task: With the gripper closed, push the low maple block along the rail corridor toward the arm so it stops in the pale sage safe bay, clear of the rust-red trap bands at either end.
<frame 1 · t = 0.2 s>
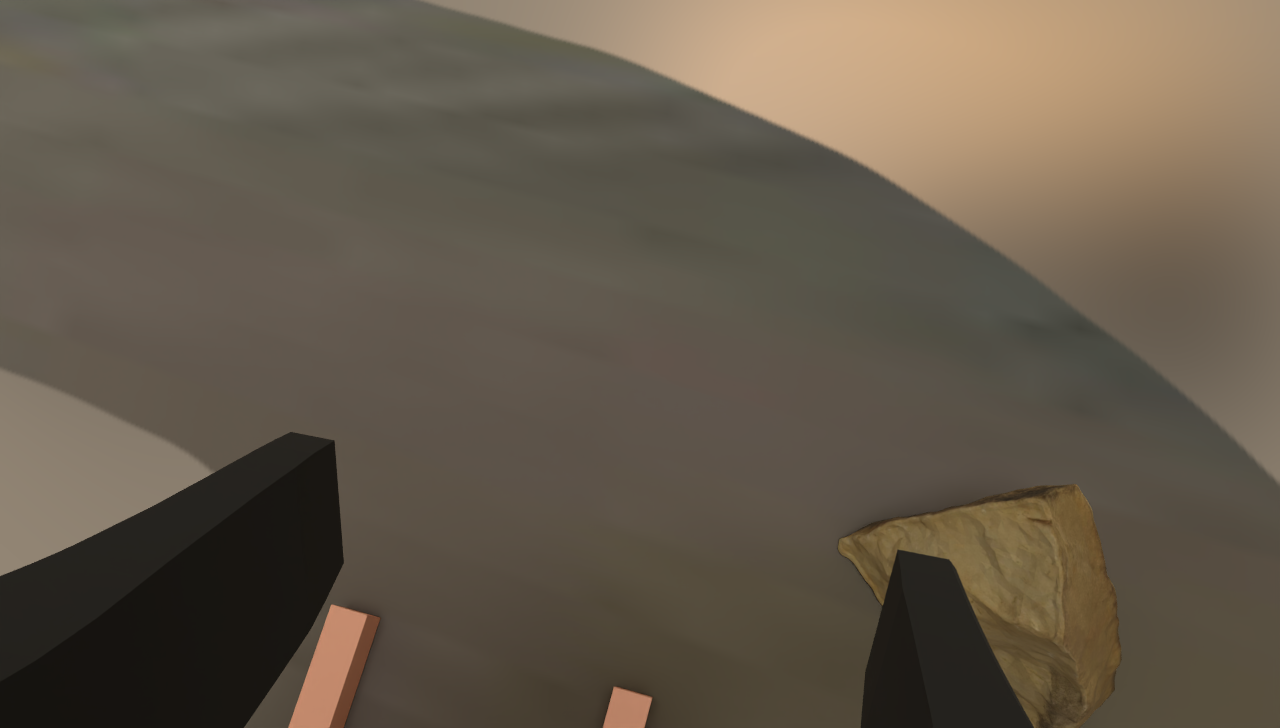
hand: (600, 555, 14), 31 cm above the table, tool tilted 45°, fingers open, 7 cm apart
rock: (966, 627, 43), on the table
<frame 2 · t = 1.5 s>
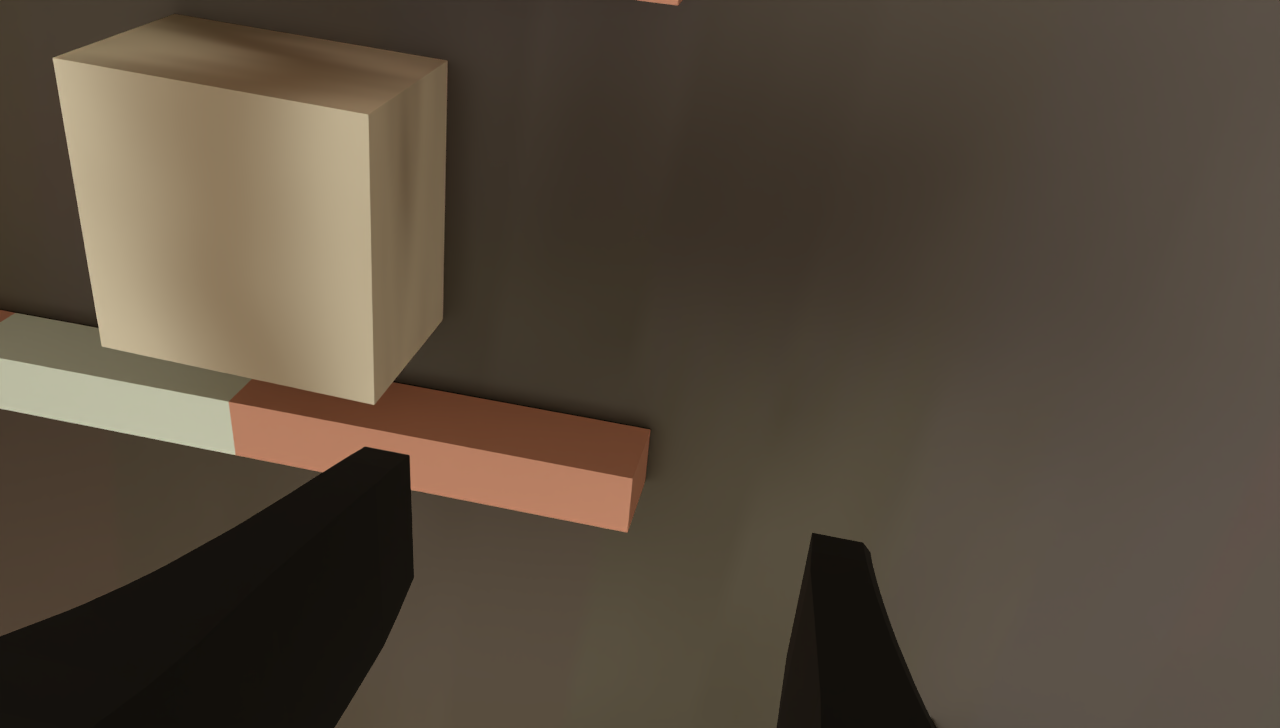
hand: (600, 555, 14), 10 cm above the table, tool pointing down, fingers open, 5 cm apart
corridor: (250, 165, 24), on the table
maple block: (319, 171, 24), on the table
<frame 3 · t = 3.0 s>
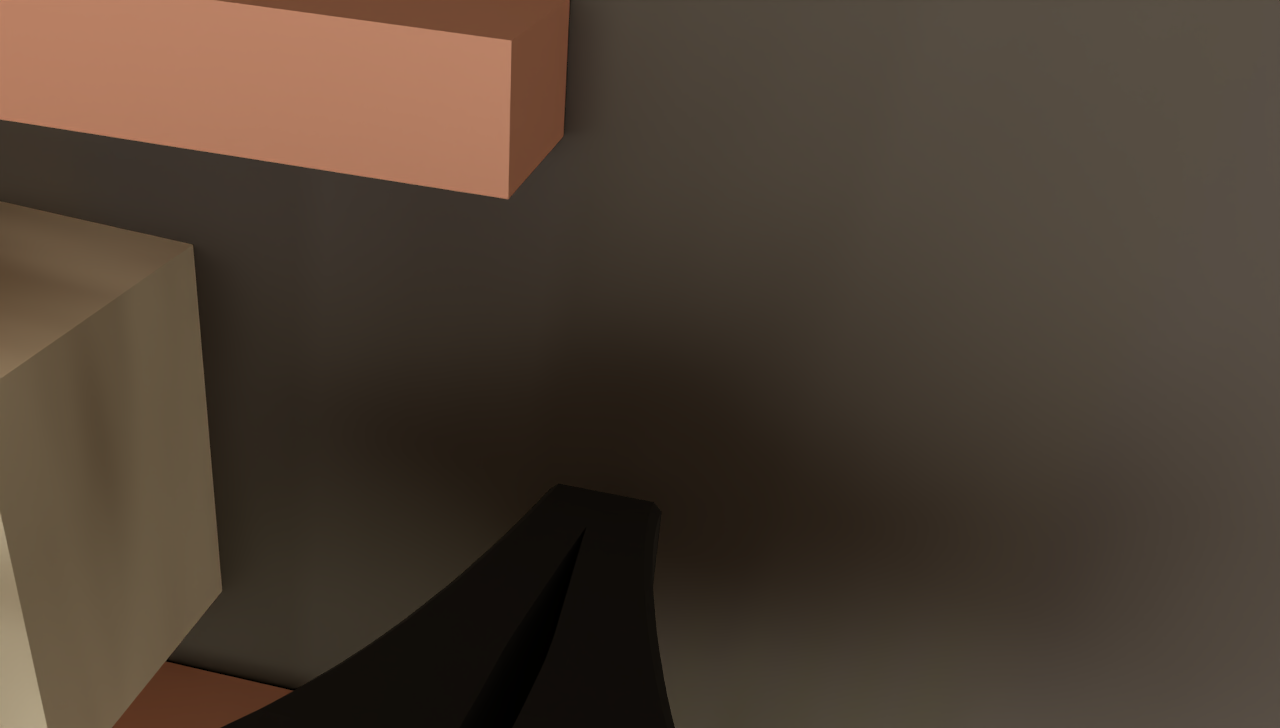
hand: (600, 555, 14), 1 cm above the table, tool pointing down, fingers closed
maple block: (26, 381, 16), on the table
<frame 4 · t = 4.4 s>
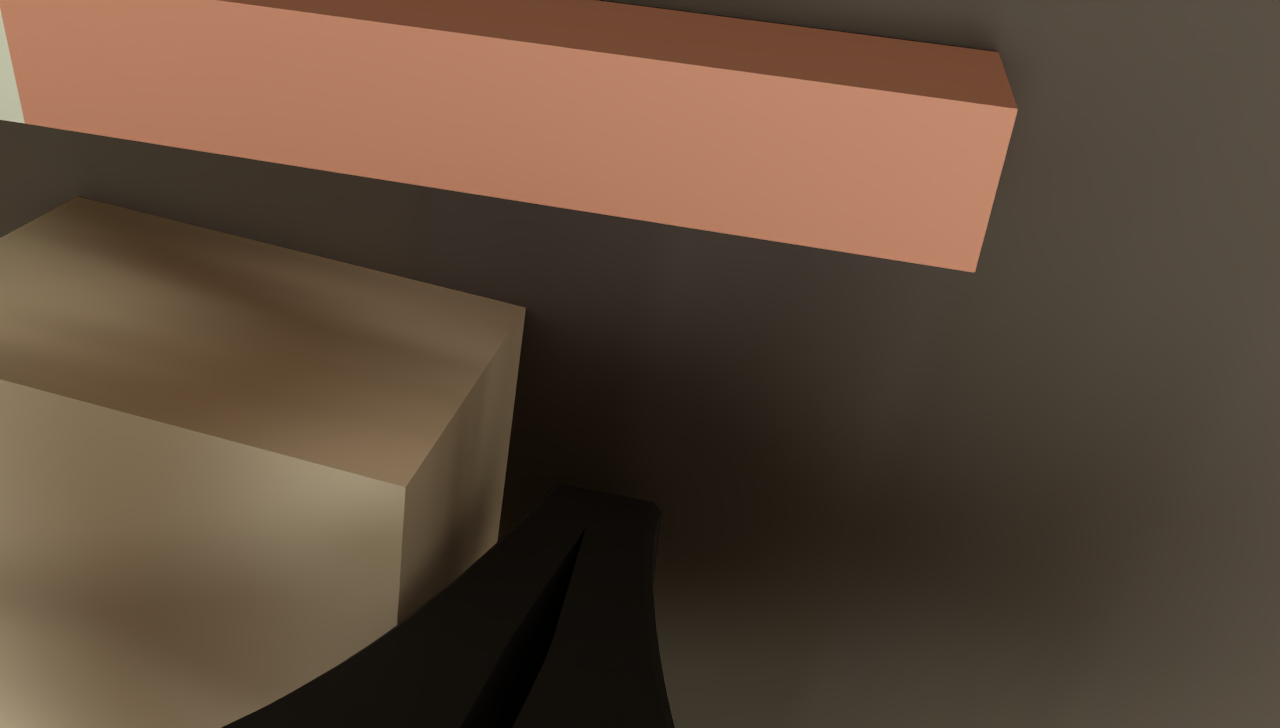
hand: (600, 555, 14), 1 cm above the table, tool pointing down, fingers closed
corridor: (196, 426, 15), on the table
maple block: (304, 436, 15), on the table, touching gripper
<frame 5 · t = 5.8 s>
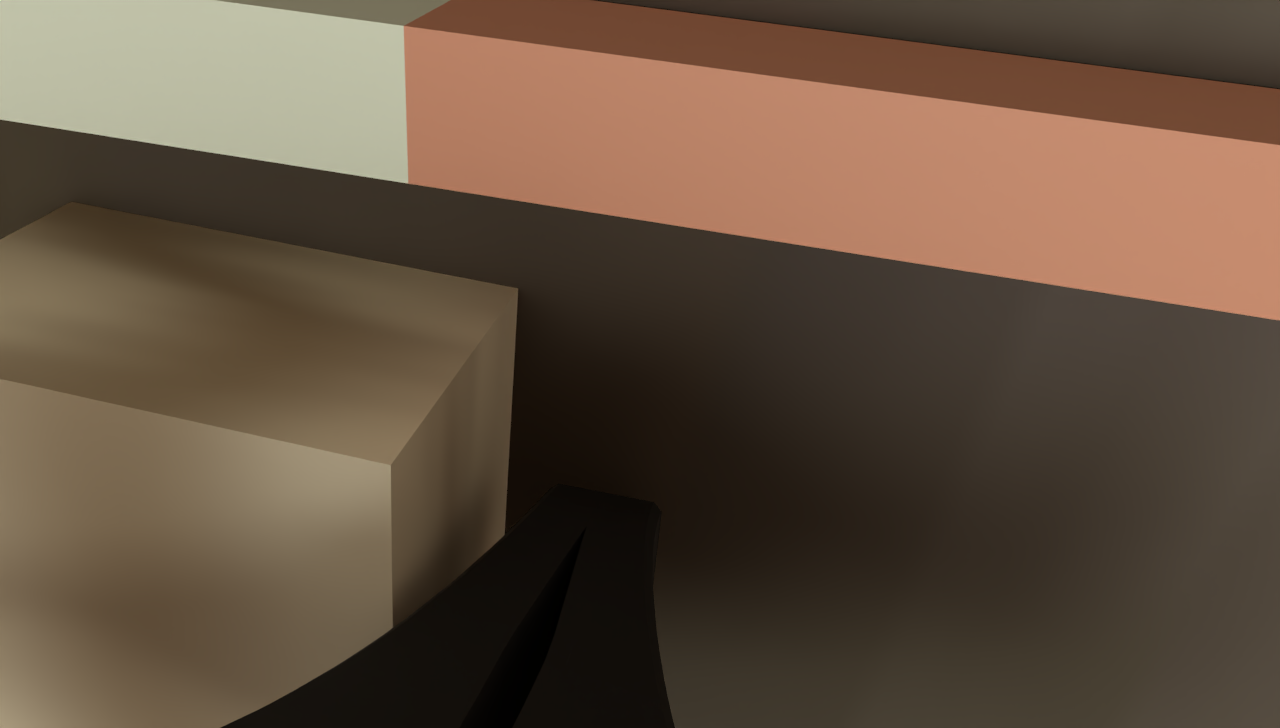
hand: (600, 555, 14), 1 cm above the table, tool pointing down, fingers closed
corridor: (475, 480, 15), on the table
maple block: (306, 433, 15), on the table
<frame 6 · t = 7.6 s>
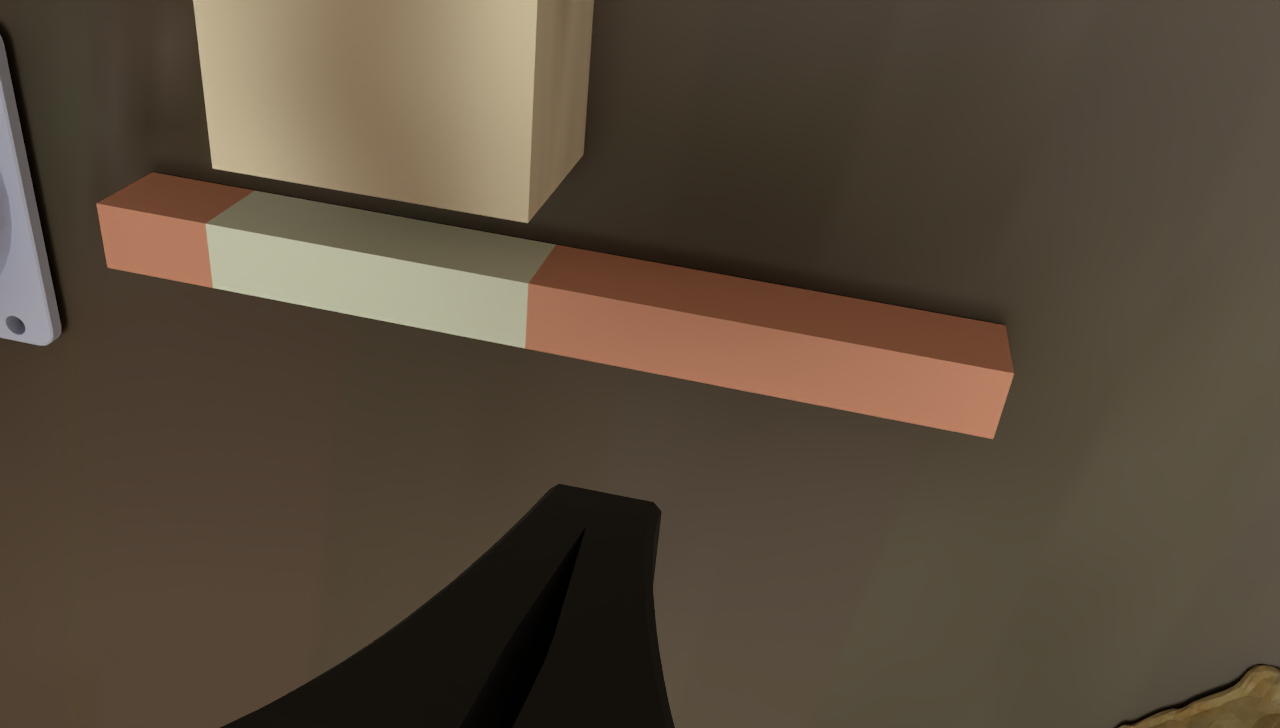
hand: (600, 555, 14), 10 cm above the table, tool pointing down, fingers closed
corridor: (570, 6, 21), on the table
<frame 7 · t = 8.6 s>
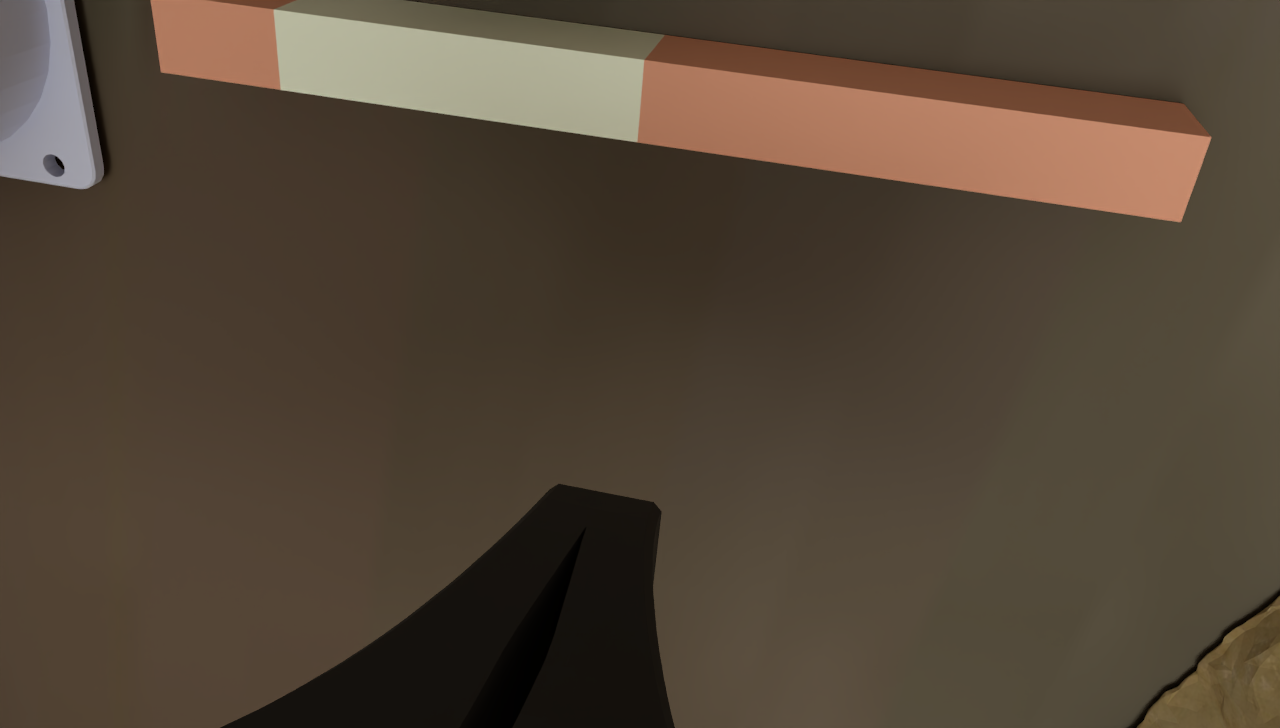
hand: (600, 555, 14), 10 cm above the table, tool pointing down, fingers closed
rock: (1261, 677, 25), on the table
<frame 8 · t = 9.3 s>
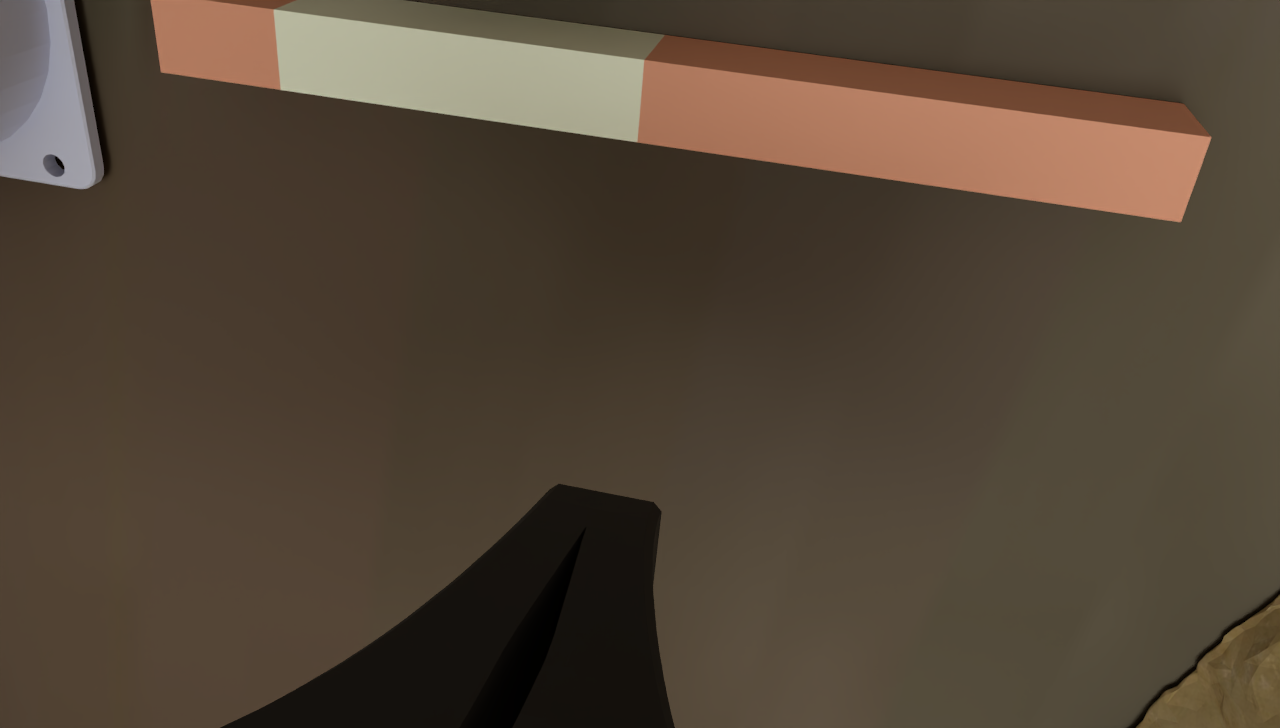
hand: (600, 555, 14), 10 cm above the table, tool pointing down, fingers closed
rock: (1261, 677, 25), on the table
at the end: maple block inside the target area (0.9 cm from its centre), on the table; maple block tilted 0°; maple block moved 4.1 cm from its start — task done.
